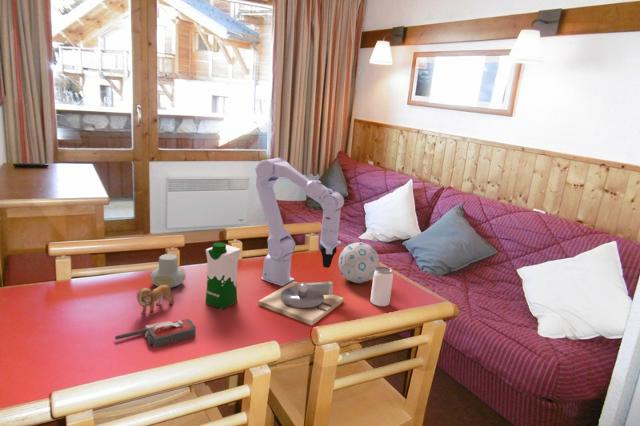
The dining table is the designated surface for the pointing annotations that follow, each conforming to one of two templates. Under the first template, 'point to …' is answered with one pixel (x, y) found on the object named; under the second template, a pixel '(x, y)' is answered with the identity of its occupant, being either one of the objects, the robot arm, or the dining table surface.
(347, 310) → the dining table surface
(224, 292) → the milk carton
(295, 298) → the dial
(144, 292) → the lion figurine
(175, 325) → the walkie-talkie
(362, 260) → the puzzle ball
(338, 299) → the stand plate
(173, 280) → the air freshener
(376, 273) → the can
